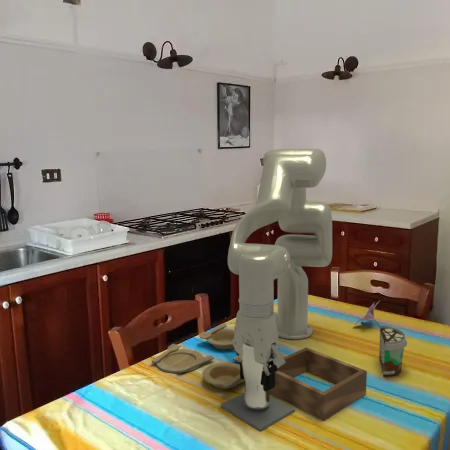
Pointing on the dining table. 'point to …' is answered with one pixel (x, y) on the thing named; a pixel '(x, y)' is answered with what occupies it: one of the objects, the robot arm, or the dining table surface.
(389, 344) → the food container
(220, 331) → the tableware set
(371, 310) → the lily
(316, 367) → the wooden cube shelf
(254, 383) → the beer glass
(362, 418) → the dining table surface
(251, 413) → the grey mat
